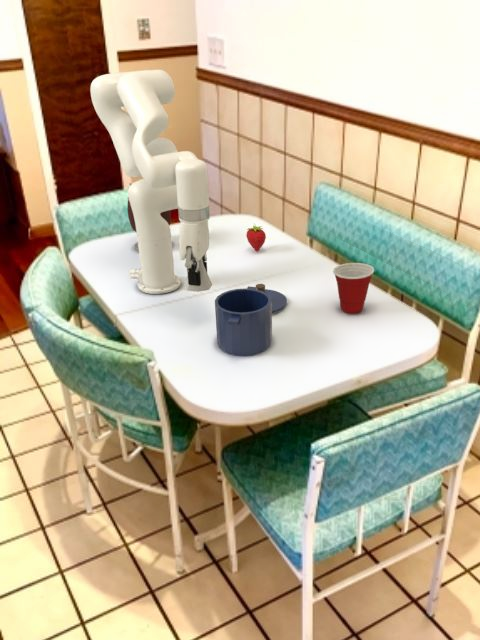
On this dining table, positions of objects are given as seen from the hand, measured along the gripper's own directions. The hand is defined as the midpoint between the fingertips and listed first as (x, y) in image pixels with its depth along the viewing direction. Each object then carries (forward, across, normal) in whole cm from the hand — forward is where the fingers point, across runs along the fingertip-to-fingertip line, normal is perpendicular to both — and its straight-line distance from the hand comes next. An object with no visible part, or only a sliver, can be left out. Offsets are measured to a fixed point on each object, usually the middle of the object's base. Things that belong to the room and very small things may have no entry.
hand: (198, 279), depth 164 cm
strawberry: (+12, -48, +4) cm, 50 cm away
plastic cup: (+11, -13, +39) cm, 42 cm away
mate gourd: (+13, -46, -32) cm, 58 cm away
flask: (+2, 0, 0) cm, 2 cm away
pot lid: (+11, -11, +14) cm, 21 cm away
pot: (+11, +10, +15) cm, 21 cm away
